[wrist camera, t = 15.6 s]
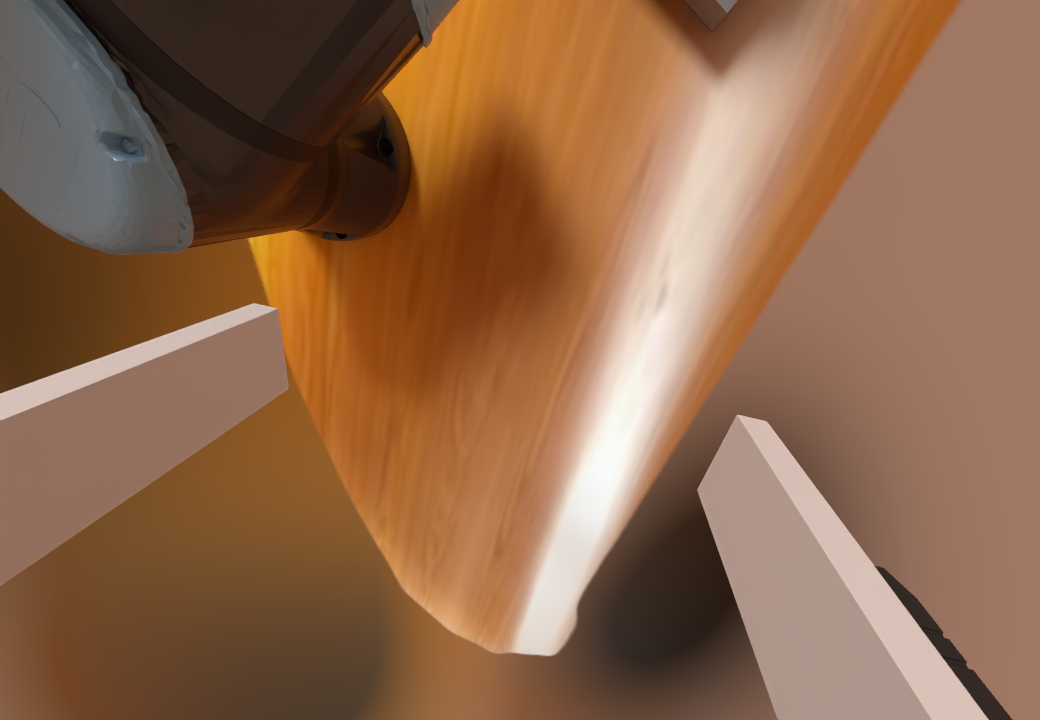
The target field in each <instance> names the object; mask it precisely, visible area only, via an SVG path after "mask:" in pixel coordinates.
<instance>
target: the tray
mask: <svg viewBox="0 0 1040 720" xmlns="http://www.w3.org/2000/svg"><path fill="white" fill-rule="evenodd" d="M684 1H685V2H686V3H687V4H688V5H689V7H690V8H691V9H692V10H693V11H694V12H695V13H696V15H697V16H698V17H699V18H700V19H701V20H702V21H703V23H704V24H705V25H706V26H707V27H708V28H709V29H710V31H711V32H712V31H713V30H714V29H715V28H716V27H717V25H718V24H719V23H720V22H721V21H722V19H723V18H724V17H725V16H726V15H727V13H728V12H729V11H730V10H731V9H732V7H733V6H734V5H735V4H736V2H737V1H738V0H684Z"/></svg>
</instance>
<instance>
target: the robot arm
mask: <svg viewBox="0 0 1040 720" xmlns="http://www.w3.org/2000/svg"><path fill="white" fill-rule="evenodd" d="M458 1H459V0H0V188H2V190H4V192H5V193H6V194H7V195H8V196H10V197H11V198H12V199H13V200H14V201H15V202H16V203H17V204H18V205H19V206H21V207H22V208H23V209H24V210H25V211H27V212H28V213H29V214H30V215H32V216H33V217H35V218H36V219H37V220H39V221H40V222H41V223H43V224H44V225H45V226H47V227H48V228H50V229H51V230H53V231H55V232H56V233H58V234H60V235H62V236H63V237H65V238H67V239H69V240H71V241H73V242H76V243H79V244H81V245H84V246H87V247H91V248H95V249H98V250H100V251H103V252H106V253H112V254H143V253H162V252H167V253H176V252H182V251H185V250H186V249H187V248H192V247H198V246H204V245H209V244H215V243H221V242H227V241H233V240H239V239H245V238H251V237H257V236H263V235H269V234H275V233H281V232H287V231H292V230H296V231H300V232H303V233H306V234H310V235H313V236H317V237H320V238H324V239H328V240H334V241H350V240H356V239H360V238H364V237H368V236H371V235H374V234H376V233H378V232H380V231H381V230H383V229H384V228H386V227H387V226H388V225H389V224H390V223H391V222H392V221H393V220H394V219H395V217H396V216H397V215H398V213H399V212H400V210H401V208H402V206H403V204H404V201H405V199H406V196H407V192H408V188H409V181H410V156H409V149H408V144H407V140H406V136H405V133H404V130H403V128H402V125H401V123H400V120H399V118H398V116H397V114H396V112H395V110H394V109H393V107H392V105H391V104H390V102H389V101H388V99H387V98H386V97H385V96H384V94H383V93H382V92H381V91H382V90H383V89H384V88H385V87H386V86H387V85H388V83H389V82H390V81H391V80H392V79H393V78H394V77H395V76H396V75H397V74H398V73H399V72H400V70H401V69H402V68H403V67H404V66H405V65H406V64H407V63H408V62H409V61H410V60H411V59H412V58H413V56H414V55H415V54H416V53H417V52H418V51H419V50H420V49H421V48H422V47H423V46H424V47H425V48H427V47H428V46H429V45H430V43H431V41H432V34H433V32H434V31H435V30H436V28H437V27H438V26H439V25H440V23H441V22H442V21H443V20H444V18H445V17H446V16H447V15H448V13H449V12H450V11H451V10H452V9H453V7H454V6H455V5H456V4H457V2H458ZM288 389H289V386H288V378H287V371H286V363H285V355H284V348H283V340H282V333H281V325H280V318H279V310H278V309H277V308H273V307H269V306H264V305H260V304H255V303H254V304H250V305H248V306H245V307H242V308H239V309H236V310H234V311H231V312H228V313H225V314H223V315H220V316H217V317H214V318H211V319H208V320H206V321H203V322H200V323H197V324H194V325H192V326H189V327H186V328H184V329H181V330H178V331H175V332H172V333H170V334H166V335H164V336H161V337H158V338H155V339H153V340H150V341H147V342H144V343H142V344H138V345H136V346H133V347H130V348H127V349H124V350H122V351H119V352H116V353H113V354H110V355H108V356H105V357H102V358H99V359H96V360H94V361H91V362H88V363H85V364H82V365H80V366H77V367H74V368H71V369H68V370H65V371H63V372H60V373H57V374H54V375H52V376H49V377H46V378H43V379H40V380H37V381H35V382H32V383H29V384H26V385H24V386H21V387H18V388H15V389H12V390H10V391H7V392H4V393H1V394H0V586H1V585H2V584H4V583H5V582H7V581H8V580H10V579H11V578H13V577H14V576H15V575H17V574H18V573H20V572H21V571H23V570H24V569H25V568H27V567H29V566H30V565H31V564H33V563H34V562H36V561H37V560H39V559H40V558H42V557H43V556H45V555H46V554H48V553H49V552H51V551H52V550H53V549H55V548H56V547H58V546H59V545H61V544H62V543H64V542H65V541H67V540H68V539H70V538H71V537H72V536H74V535H75V534H77V533H78V532H80V531H81V530H83V529H84V528H86V527H87V526H89V525H90V524H92V523H93V522H95V521H96V520H97V519H98V518H100V517H102V516H103V515H105V514H106V513H108V512H109V511H110V510H112V509H113V508H115V507H116V506H118V505H119V504H121V503H122V502H124V501H125V500H127V499H128V498H130V497H131V496H133V495H134V494H136V493H137V492H138V491H140V490H141V489H143V488H144V487H146V486H147V485H149V484H150V483H152V482H153V481H155V480H156V479H157V478H159V477H160V476H162V475H163V474H165V473H166V472H168V471H169V470H171V469H172V468H174V467H175V466H176V465H178V464H179V463H181V462H182V461H184V460H185V459H187V458H188V457H190V456H191V455H193V454H194V453H196V452H197V451H198V450H200V449H201V448H203V447H204V446H206V445H207V444H209V443H210V442H212V441H213V440H215V439H216V438H218V437H219V436H220V435H222V434H223V433H225V432H226V431H228V430H229V429H230V428H232V427H234V426H235V425H237V424H238V423H239V422H241V421H242V420H244V419H245V418H247V417H248V416H250V415H251V414H252V413H254V412H255V411H257V410H259V409H260V408H261V407H263V406H264V405H266V404H267V403H269V402H270V401H271V400H273V399H274V398H276V397H278V396H279V395H281V394H282V393H283V392H285V391H286V390H288ZM697 491H698V493H699V496H700V499H701V502H702V505H703V508H704V510H705V513H706V516H707V519H708V522H709V525H710V528H711V530H712V533H713V536H714V539H715V542H716V545H717V548H718V550H719V553H720V556H721V559H722V562H723V565H724V567H725V570H726V573H727V576H728V579H729V581H730V585H731V587H732V590H733V593H734V596H735V599H736V602H737V605H738V607H739V610H740V613H741V616H742V619H743V622H744V624H745V627H746V630H747V633H748V636H749V639H750V642H751V644H752V647H753V650H754V653H755V656H756V659H757V661H758V664H759V667H760V670H761V673H762V675H763V678H764V681H765V684H766V687H767V690H768V693H769V696H770V699H771V701H772V704H773V707H774V710H775V713H776V716H777V718H778V720H1012V719H1011V718H1010V716H1009V715H1008V714H1007V712H1006V711H1005V710H1004V709H1003V707H1002V706H1001V705H1000V703H999V702H998V701H997V700H996V698H995V697H994V696H993V695H992V693H991V692H990V691H989V689H988V688H987V687H986V686H985V684H984V683H983V682H982V681H981V679H980V678H979V677H978V676H977V674H976V673H975V672H974V671H973V670H971V669H968V668H967V666H966V663H967V662H966V660H965V659H964V658H963V656H962V655H961V654H960V653H959V651H958V650H957V649H956V648H955V646H954V645H953V644H952V643H951V641H950V640H949V639H946V638H944V637H943V631H942V630H941V629H940V628H939V626H938V625H937V624H936V622H935V621H934V620H933V618H932V617H931V616H930V615H929V613H928V612H927V611H926V610H925V608H924V607H923V606H922V604H921V603H920V602H919V601H918V599H917V598H915V596H914V595H912V594H911V593H910V592H909V591H908V590H907V589H906V588H905V587H904V586H903V585H901V584H900V583H899V582H898V581H897V580H896V579H895V578H894V577H893V576H892V575H891V574H890V573H888V572H887V571H886V570H885V569H884V568H881V567H877V566H874V565H873V564H872V562H871V561H870V560H869V558H868V557H867V556H866V554H865V553H864V552H863V550H862V549H861V547H860V546H859V545H858V544H857V542H856V541H855V539H854V538H853V537H852V535H851V534H850V533H849V531H848V530H847V529H846V527H845V526H844V525H843V523H842V522H841V521H840V519H839V518H838V517H837V515H836V514H835V513H834V511H833V510H832V508H831V507H830V506H829V504H828V503H827V502H826V500H825V499H824V498H823V496H822V495H821V494H820V492H819V491H818V490H817V488H816V487H815V486H814V484H813V483H812V482H811V480H810V479H809V478H808V476H807V475H806V474H805V472H804V471H803V470H802V468H801V467H800V465H799V464H798V463H797V461H796V460H795V459H794V457H793V456H792V455H791V453H790V452H789V451H788V449H787V448H786V447H785V445H784V444H783V443H782V441H781V440H780V439H779V437H778V436H777V435H776V433H775V432H774V431H773V429H772V428H771V427H770V425H769V424H768V422H766V421H762V420H758V419H754V418H749V417H745V416H741V415H737V416H736V418H735V420H734V422H733V423H732V425H731V427H730V429H729V431H728V433H727V435H726V437H725V439H724V441H723V443H722V444H721V446H720V448H719V450H718V452H717V454H716V456H715V458H714V459H713V461H712V463H711V465H710V467H709V469H708V471H707V473H706V474H705V476H704V478H703V480H702V482H701V484H700V486H699V488H698V490H697Z"/></svg>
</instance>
